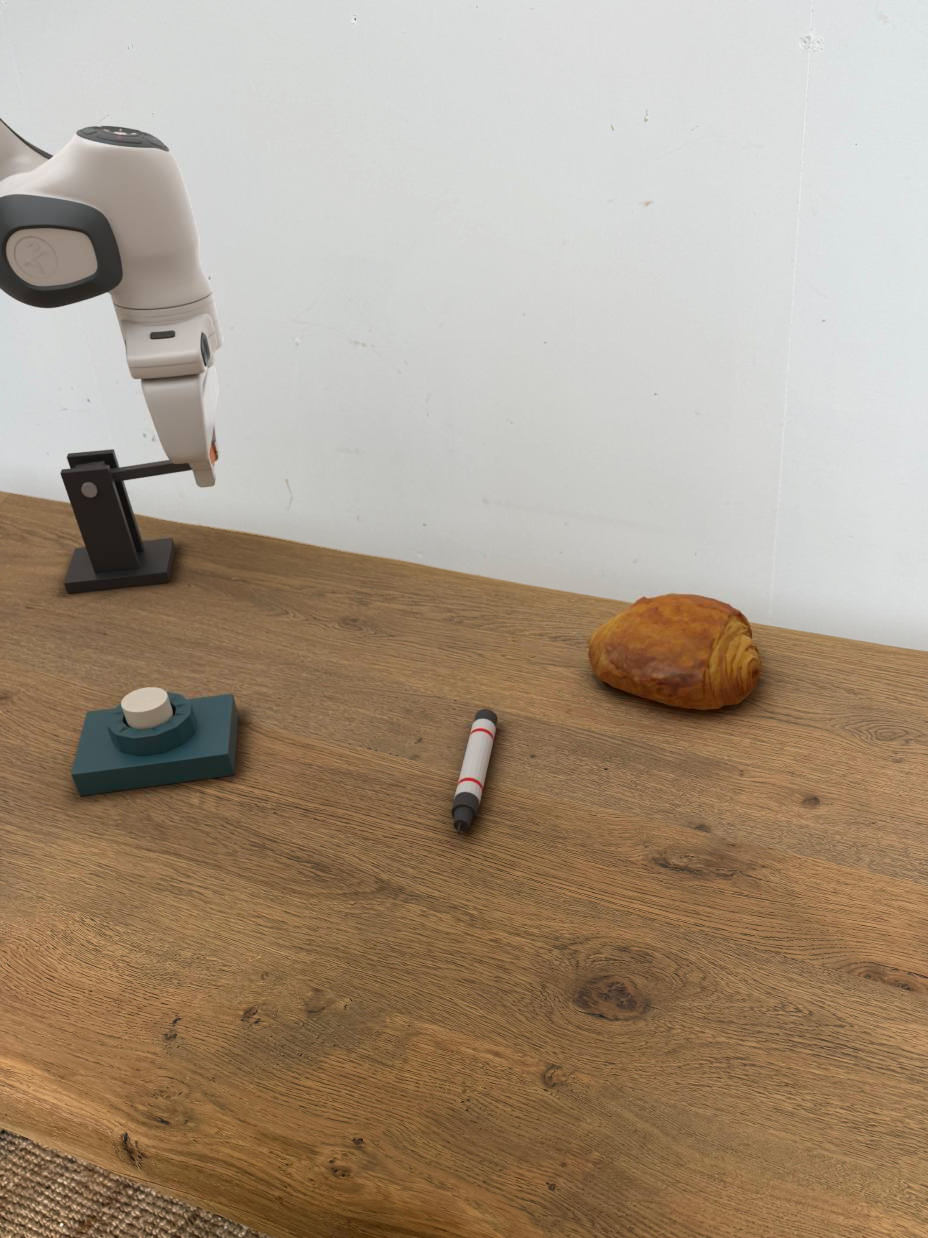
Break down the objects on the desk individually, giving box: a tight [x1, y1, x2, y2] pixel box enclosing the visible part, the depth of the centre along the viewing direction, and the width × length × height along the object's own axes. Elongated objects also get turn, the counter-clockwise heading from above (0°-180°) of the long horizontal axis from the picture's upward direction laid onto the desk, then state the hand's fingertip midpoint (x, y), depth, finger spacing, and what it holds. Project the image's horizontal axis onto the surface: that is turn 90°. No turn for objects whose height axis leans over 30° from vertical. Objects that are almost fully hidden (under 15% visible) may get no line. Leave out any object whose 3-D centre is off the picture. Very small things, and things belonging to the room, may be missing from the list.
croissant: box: [587, 592, 762, 711], centre depth 104 cm, size 14×16×8 cm
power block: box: [70, 691, 240, 797], centre depth 97 cm, size 12×9×4 cm
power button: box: [120, 686, 173, 729], centre depth 95 cm, size 4×4×2 cm
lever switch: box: [75, 445, 216, 482], centre depth 117 cm, size 13×5×2 cm, turn 102°
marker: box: [451, 708, 498, 836], centre depth 94 cm, size 15×2×2 cm, turn 178°
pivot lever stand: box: [59, 448, 176, 595], centre depth 119 cm, size 10×8×12 cm
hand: (209, 471), depth 118 cm, fingers closed on lever switch, 5 cm apart
